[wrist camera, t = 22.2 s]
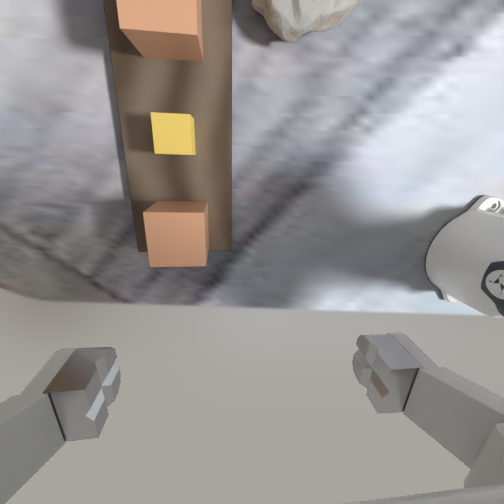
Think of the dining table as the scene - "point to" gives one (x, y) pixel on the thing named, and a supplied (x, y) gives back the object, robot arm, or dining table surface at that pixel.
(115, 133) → the dining table surface
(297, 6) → the stone
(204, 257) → the wooden block
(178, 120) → the cube
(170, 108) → the board
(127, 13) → the peach block
